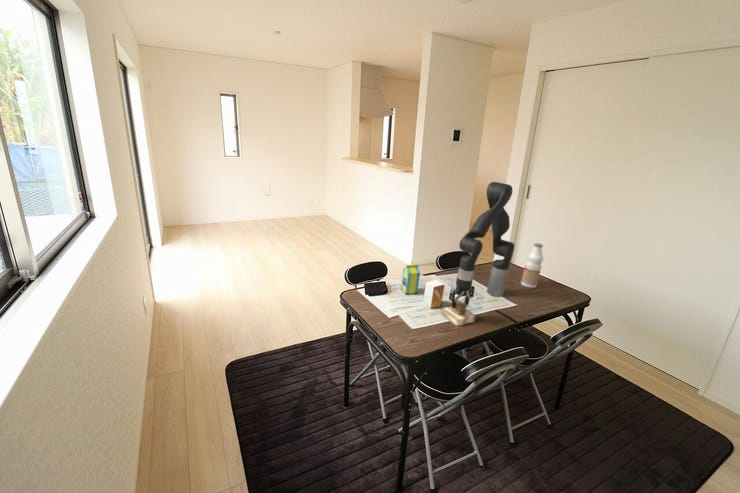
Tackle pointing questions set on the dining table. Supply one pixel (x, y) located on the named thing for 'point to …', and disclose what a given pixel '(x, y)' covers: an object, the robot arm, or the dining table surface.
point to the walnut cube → (459, 307)
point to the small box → (433, 294)
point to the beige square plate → (458, 316)
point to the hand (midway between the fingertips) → (459, 306)
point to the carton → (410, 279)
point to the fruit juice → (532, 267)
